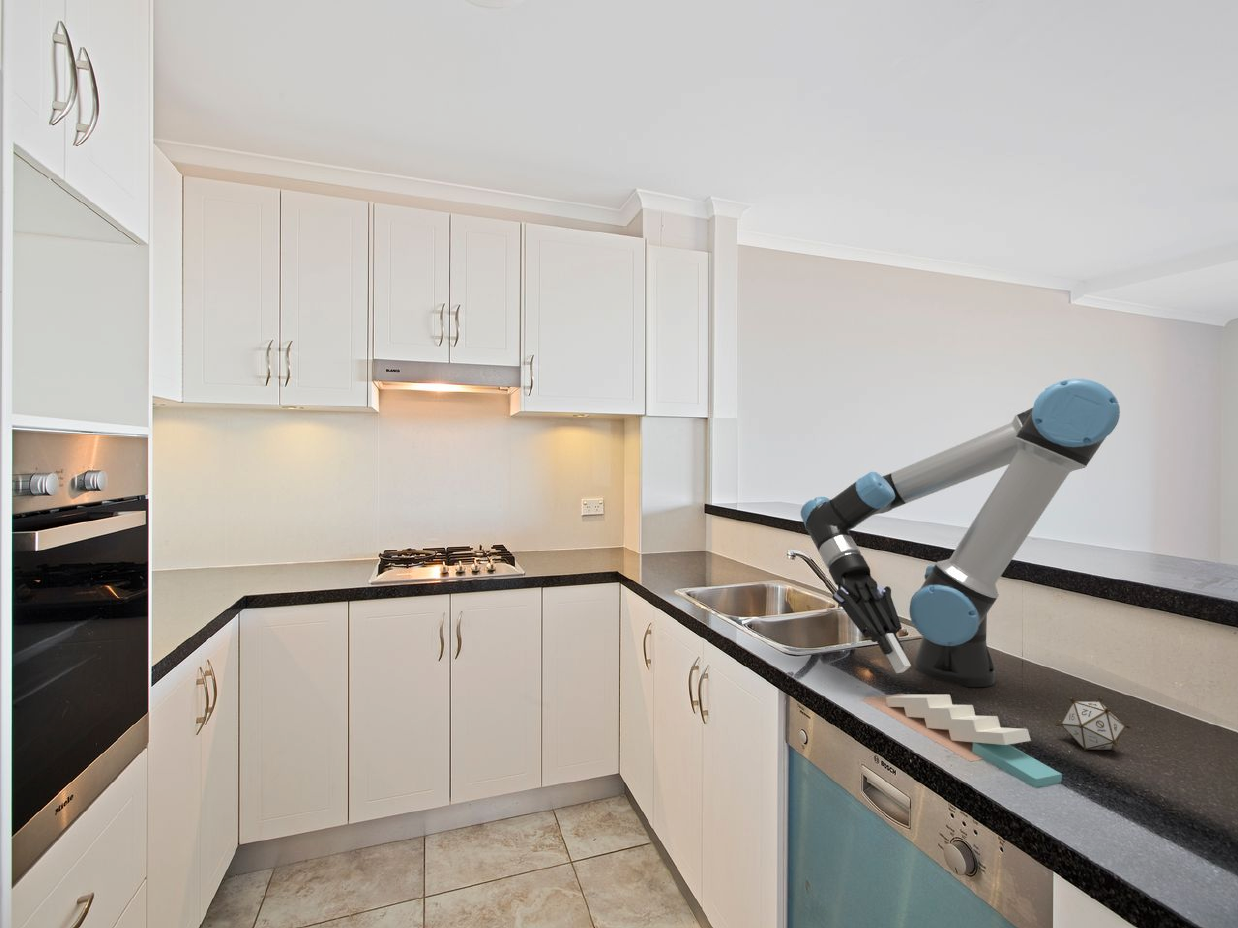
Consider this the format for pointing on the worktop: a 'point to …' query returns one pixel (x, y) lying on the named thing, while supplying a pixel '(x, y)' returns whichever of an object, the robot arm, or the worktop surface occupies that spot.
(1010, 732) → the domino
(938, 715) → the domino
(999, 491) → the robot arm
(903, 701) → the domino
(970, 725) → the domino
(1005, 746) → the domino
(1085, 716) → the game die
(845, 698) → the worktop surface
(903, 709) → the mat
